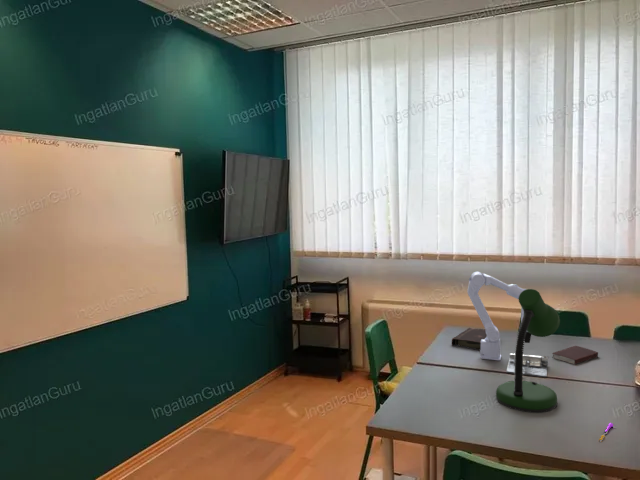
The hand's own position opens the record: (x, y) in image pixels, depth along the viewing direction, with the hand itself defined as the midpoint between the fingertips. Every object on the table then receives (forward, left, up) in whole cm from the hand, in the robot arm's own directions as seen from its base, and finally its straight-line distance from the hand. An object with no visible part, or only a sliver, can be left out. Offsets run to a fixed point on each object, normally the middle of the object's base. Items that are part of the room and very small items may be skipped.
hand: (527, 342), depth 254 cm
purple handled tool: (+29, -72, -9) cm, 78 cm away
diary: (-27, +21, -9) cm, 35 cm away
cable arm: (+1, -7, -7) cm, 10 cm away
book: (+22, +11, -9) cm, 26 cm away
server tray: (0, -13, -9) cm, 16 cm away
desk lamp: (+3, -48, -9) cm, 49 cm away
